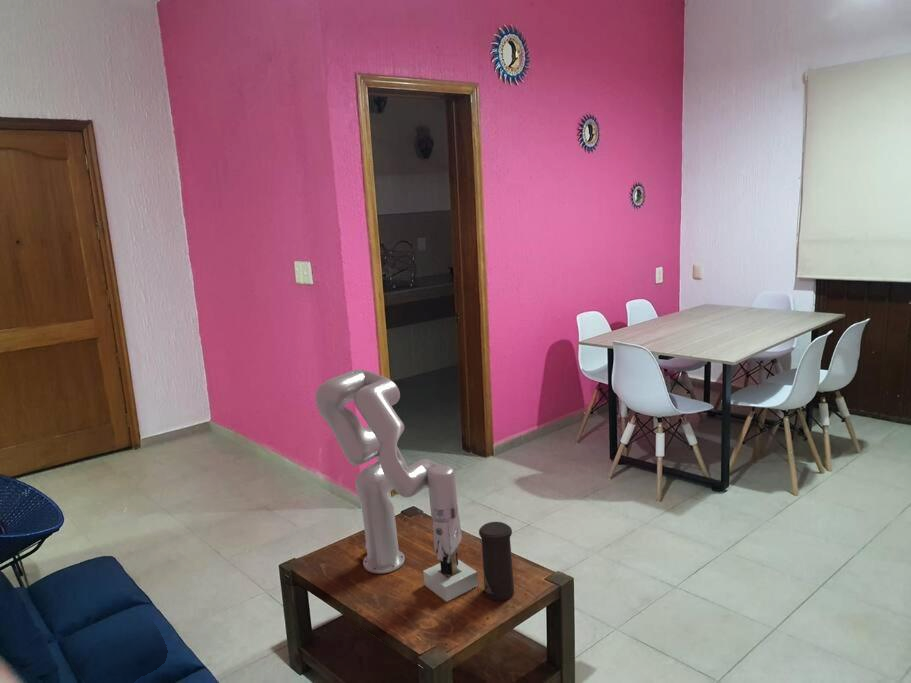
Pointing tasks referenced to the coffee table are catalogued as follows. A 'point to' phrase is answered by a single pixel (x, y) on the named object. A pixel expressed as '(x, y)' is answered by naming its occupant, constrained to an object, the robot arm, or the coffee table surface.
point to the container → (497, 560)
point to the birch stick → (454, 564)
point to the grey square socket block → (450, 581)
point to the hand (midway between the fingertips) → (449, 568)
